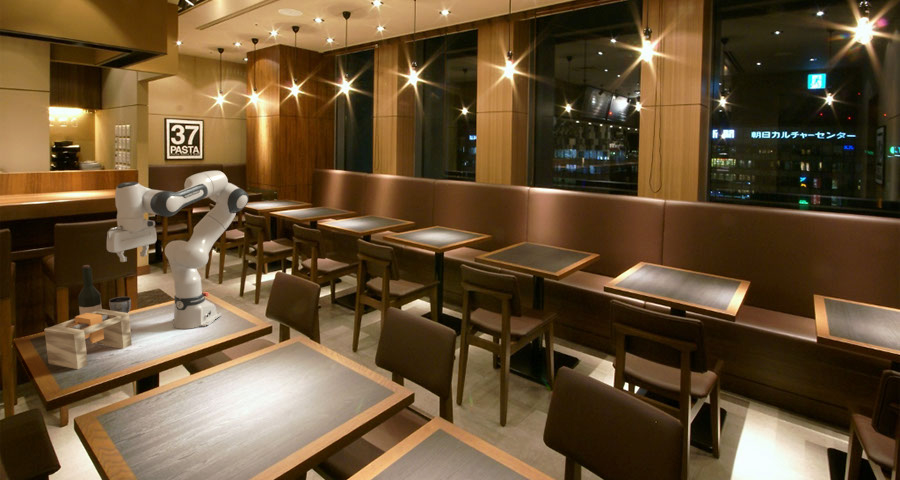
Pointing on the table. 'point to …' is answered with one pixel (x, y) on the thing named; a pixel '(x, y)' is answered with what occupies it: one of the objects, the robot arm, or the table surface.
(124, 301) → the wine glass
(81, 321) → the upright wooden block
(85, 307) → the wine bottle
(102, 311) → the shelf
